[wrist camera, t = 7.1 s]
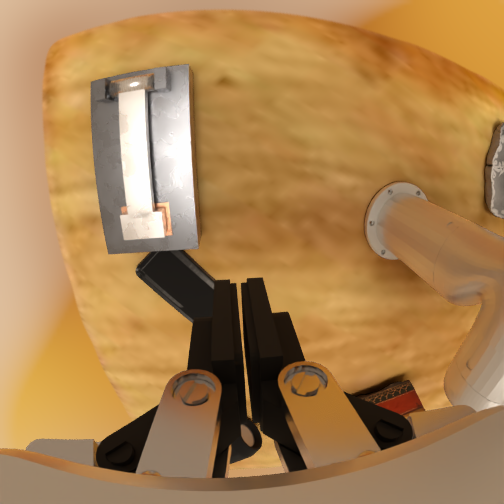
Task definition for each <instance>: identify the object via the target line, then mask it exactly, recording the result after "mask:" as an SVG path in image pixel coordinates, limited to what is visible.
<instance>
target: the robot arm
mask: <svg viewBox="0 0 504 504" xmlns="http://www.w3.org/2000/svg"><path fill="white" fill-rule="evenodd" d="M388 190H389V191H388ZM365 235H366V239H367V241H368V244H369V245H370V247H371V248H372V250H374V251H375V252H376V253H377V254H378V255H379V256H381V257H383V258H385V259H390V260H396V259H400V260H401V261H402V262H403V263H404V264H406V265H407V266H408V267H409V268H410V269H411V270H413V271H414V272H415V273H416V274H417V275H418V276H420V277H421V278H422V279H423V280H424V281H425V282H427V283H428V284H429V285H430V286H431V287H432V288H433V289H434V290H436V291H437V292H438V293H439V294H440V295H441V296H442V297H443V298H445V299H446V300H447V301H449V302H451V303H452V304H455V305H459V306H471V305H476V304H481V303H482V306H481V309H480V311H479V313H478V315H477V317H476V320H475V322H474V324H473V326H472V328H471V329H470V331H469V333H468V335H467V336H466V338H465V340H464V342H463V343H462V345H461V347H460V348H459V350H458V351H457V353H456V355H455V357H454V358H453V360H452V362H451V363H450V365H449V367H448V369H447V371H446V374H445V378H444V390H445V393H446V396H447V398H448V399H449V401H450V402H451V404H452V405H453V406H452V407H446V408H441V409H435V410H429V411H422V412H415V413H410V414H409V416H408V417H404V416H402V415H400V414H398V413H396V412H394V411H391V410H388V409H386V408H383V407H380V406H378V405H375V404H373V403H370V402H368V401H365V400H363V399H360V398H358V397H355V396H353V395H351V394H348V393H346V392H344V391H342V389H341V387H340V386H339V384H338V383H337V381H336V380H335V378H334V377H333V375H332V373H331V372H330V371H329V370H328V369H327V368H326V367H324V366H322V365H321V364H318V363H315V362H309V361H305V358H304V356H303V353H302V350H301V347H300V344H299V341H298V338H297V335H296V332H295V329H294V326H293V324H292V321H291V318H290V315H289V313H288V312H279V313H272V311H271V308H270V304H269V300H268V296H267V292H266V289H265V285H264V281H263V278H247V283H241V294H242V314H243V334H244V349H245V359H246V368H247V376H248V385H249V394H250V402H251V411H252V419H253V423H260V430H261V431H263V434H265V435H267V436H268V437H270V438H272V439H273V440H274V444H275V447H276V450H277V453H278V455H279V458H280V460H281V463H282V466H283V468H284V471H285V473H280V474H272V475H263V476H252V477H237V478H228V471H229V464H230V456H231V444H232V443H233V442H234V441H235V440H236V439H238V438H239V437H240V436H241V424H247V409H246V394H245V378H244V363H243V351H242V341H241V330H240V320H239V309H238V298H237V287H236V283H231V284H230V280H214V296H213V317H201V318H194V319H193V326H192V334H191V342H190V350H189V358H188V367H187V370H186V371H182V372H180V373H178V374H176V375H174V376H173V377H172V378H171V379H170V380H169V382H168V383H167V385H166V387H165V390H164V393H163V395H162V398H161V401H160V404H159V405H157V406H156V407H154V408H153V409H151V410H150V411H148V412H146V413H145V414H143V415H142V416H140V417H139V418H137V419H135V420H134V421H132V422H131V423H129V424H128V425H126V426H124V427H123V428H121V429H119V430H118V431H116V432H114V433H113V434H111V435H109V436H108V437H106V438H105V439H104V440H103V441H101V442H95V441H94V439H84V440H62V439H61V440H60V439H37V440H34V441H33V442H31V443H30V444H29V445H28V446H27V447H26V450H20V449H4V448H2V449H0V504H504V238H503V237H501V236H499V235H497V234H495V233H493V232H491V231H489V230H487V229H485V228H483V227H481V226H479V225H477V224H475V223H473V222H471V221H469V220H467V219H465V218H463V217H461V216H459V215H457V214H455V213H453V212H451V211H448V210H446V209H444V208H442V207H440V206H438V205H435V204H433V203H431V202H428V199H427V197H426V195H425V194H424V193H423V191H422V190H421V189H420V188H418V187H417V186H415V185H413V184H411V183H407V182H394V183H391V184H389V185H387V186H385V187H384V188H382V189H381V190H380V191H379V192H378V193H377V194H376V195H375V197H374V198H373V200H372V201H371V203H370V205H369V207H368V210H367V213H366V217H365Z"/></svg>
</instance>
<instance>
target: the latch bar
mask: <svg viewBox="0 0 504 504" xmlns="http://www.w3.org/2000/svg"><path fill="white" fill-rule="evenodd" d="M153 90H155V83H154V73H151V74H145V75H140V76H134V77H129V78H124V79H119V80H115V81H111V82H110V84H109V93H110V96H111V97H112V98H114V97H119V126H120V144H121V158H122V169H123V179H124V188H125V197H126V205H127V211H126V212H123V213H122V214H121V215H120V219H121V226H122V232H123V237H124V240H134V239H147V238H162V237H165V236H166V234H167V228H166V219H165V210H164V208H158V209H155V203H154V194H153V184H152V173H151V160H150V145H149V126H148V91H153Z"/></svg>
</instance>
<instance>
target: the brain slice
mask: <svg viewBox="0 0 504 504" xmlns="http://www.w3.org/2000/svg"><path fill="white" fill-rule="evenodd" d="M485 180H486V183H485V199H486V203H487V205H488V208H489V210H490V212H491V213H493V214H494V215H495V216H496V217H500V218H503V219H504V123H501V124H500V125H499V126H498V127H497V129H496V130H495V132H494V133H493V138H492V142H491V145H490V149H489V152H488V156H487V166H486V168H485Z"/></svg>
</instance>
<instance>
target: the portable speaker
mask: <svg viewBox="0 0 504 504" xmlns="http://www.w3.org/2000/svg"><path fill="white" fill-rule="evenodd" d="M261 446H262V438H261V434H260V432H259V430H258V428H257V427H256V426H255V424H254V423H253V422H252V421H250V420H249V419H247V424H241V436H240V437H239V438H238V439H236V440H235V441H234V442H233V443H232V444H231V456H230V464H232V463H234V462H237V461H240V460H243V459H246V458H248V457H251V456H252V455H254V454H255V453H256V452H257V451H258V450H259V449H260V448H261Z"/></svg>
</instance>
